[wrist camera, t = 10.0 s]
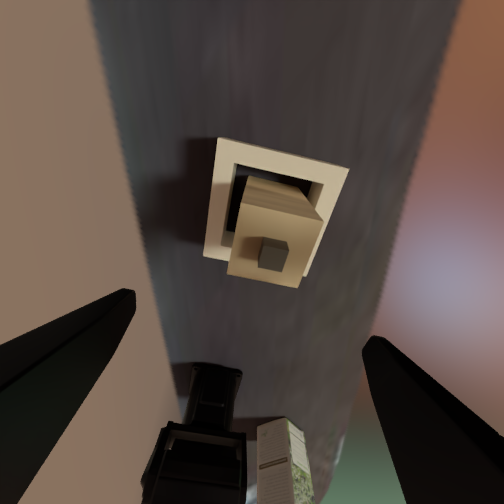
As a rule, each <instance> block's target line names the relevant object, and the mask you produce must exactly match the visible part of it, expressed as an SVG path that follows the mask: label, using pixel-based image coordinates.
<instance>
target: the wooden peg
mask: <svg viewBox="0 0 504 504" xmlns="http://www.w3.org/2000/svg"><path fill="white" fill-rule="evenodd" d="M323 223H324V221H323V219H322V218H321V217H320V216H319V214H318V213H317V212H316V210H315V209H314V208H313V206H312V205H311V204H310V202H309V201H308V200H307V199H306V197H305V196H304V195H303V193H302V192H301V191H300V189H299V188H298V187H295V186H291V185H287V184H283V183H279V182H274V181H270V180H266V179H262V178H258V177H253V176H248V180H247V183H246V187H245V190H244V194H243V197H242V201H241V205H240V210H239V215H238V220H237V225H236V230H235V235H234V240H233V245H232V250H231V255H230V260H229V265H228V270H227V274H230V275H235V276H240V277H244V278H249V279H254V280H259V281H264V282H269V283H274V284H279V285H284V286H289V287H294V288H298V286H299V283H300V281H301V278H302V276H303V273H304V271H305V268H306V266H307V263H308V261H309V258H310V256H311V253H312V251H313V248H314V246H315V243H316V241H317V238H318V236H319V233H320V231H321V228H322V226H323Z"/></svg>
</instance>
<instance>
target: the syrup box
mask: <svg viewBox="0 0 504 504" xmlns="http://www.w3.org/2000/svg"><path fill="white" fill-rule="evenodd" d="M257 504H315V500H314V493H313V487H312V481H311V474H310V468H309V462H308V455H307V450H306V443H305V437H304V432H303V431H302V430H300V429H299V428H298V427H297V426H295V425H294V424H293V423H292V422H291V421H289V420H288V419H287V418H281V419H277V420H274V421H271V422H268V423H265V424H262V425H260V426H257Z"/></svg>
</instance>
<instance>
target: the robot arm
mask: <svg viewBox="0 0 504 504" xmlns="http://www.w3.org/2000/svg"><path fill="white" fill-rule="evenodd" d="M135 311H136V293H135V291H134V290H130V289H125V288H122V289H120V290H117V291H115V292H113V293H111V294H109V295H107V296H105V297H102V298H100V299H98V300H96V301H94V302H92V303H90V304H88V305H85V306H83V307H81V308H79V309H77V310H74V311H72V312H70V313H68V314H66V315H64V316H62V317H59V318H57V319H55V320H53V321H51V322H49V323H47V324H44V325H42V326H40V327H38V328H36V329H34V330H31V331H29V332H27V333H25V334H23V335H21V336H19V337H16V338H14V339H12V340H10V341H8V342H6V343H4V344H1V345H0V504H17V503H18V502H19V500H20V498H21V497H22V496H23V494H24V492H25V491H26V489H27V488H28V486H29V485H30V483H31V482H32V480H33V479H34V477H35V475H36V474H37V472H38V471H39V469H40V468H41V466H42V465H43V463H44V462H45V460H46V458H47V457H48V455H49V454H50V452H51V451H52V449H53V448H54V446H55V444H56V443H57V441H58V440H59V438H60V437H61V435H62V434H63V432H64V431H65V429H66V428H67V426H68V425H69V423H70V421H71V420H72V418H73V417H74V415H75V414H76V412H77V411H78V409H79V408H80V406H81V404H82V403H83V401H84V400H85V398H86V397H87V395H88V394H89V392H90V391H91V389H92V387H93V386H94V384H95V383H96V381H97V380H98V378H99V377H100V375H101V373H102V372H103V370H104V369H105V367H106V366H107V364H108V363H109V361H110V359H111V358H112V356H113V355H114V353H115V351H116V349H117V347H118V345H119V343H120V341H121V339H122V338H123V336H124V334H125V332H126V330H127V328H128V326H129V324H130V322H131V320H132V318H133V316H134V314H135ZM362 357H363V362H364V366H365V370H366V375H367V379H368V383H369V388H370V392H371V396H372V399H373V402H374V406H375V409H376V412H377V415H378V418H379V421H380V424H381V427H382V430H383V433H384V436H385V439H386V442H387V445H388V448H389V452H390V455H391V458H392V461H393V464H394V467H395V470H396V473H397V476H398V479H399V482H400V485H401V488H402V491H403V494H404V497H405V501H406V504H504V437H503V436H501V435H499V434H498V432H496V431H495V430H494V429H493V428H492V427H491V426H489V425H488V424H487V423H486V422H485V421H484V420H482V419H481V418H480V417H479V416H478V415H476V414H475V413H474V412H473V411H472V410H470V409H469V408H468V407H467V406H466V405H464V404H463V403H462V402H461V401H460V400H458V399H457V398H456V397H455V396H454V395H452V394H451V393H450V392H449V391H448V390H446V389H445V388H444V387H443V386H442V385H440V384H439V383H438V382H437V381H436V380H435V379H433V378H432V377H431V376H430V375H429V374H427V373H426V372H425V371H424V370H422V369H421V368H420V367H419V366H418V365H416V364H415V363H414V362H413V361H412V360H411V359H409V358H408V357H407V356H406V355H405V354H403V353H402V352H401V351H400V350H399V349H398V348H396V347H395V346H394V345H393V344H392V343H390V342H389V341H388V340H387V339H386V338H384V337H380V336H375V335H373V336H371V337H370V339H369V340H368V341H367V343H366V344H365V346H364V347H363V349H362ZM242 375H243V373H242V371H239V370H233V369H227V368H221V367H214V366H208V365H202V364H193V367H192V372H191V380H190V387H189V394H190V396H189V399H188V403H187V407H186V410H185V414H184V418H183V421H182V424H179V423H173V421H168V424H167V426H166V427H164V428H161V431H160V434H159V437H158V440H157V443H156V445H155V448H154V451H153V453H152V455H151V457H150V459H149V462H148V464H147V466H146V469H145V471H144V473H143V475H142V478H141V485H142V488H143V493H142V497H143V500H142V503H141V504H245V503H246V493H247V448H246V433H244V432H241V433H237V432H232V421H233V411H234V401H235V398H236V395H237V392H238V389H239V386H240V382H241V379H242ZM169 448H171V450H170V449H169Z"/></svg>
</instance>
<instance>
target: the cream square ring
mask: <svg viewBox="0 0 504 504" xmlns="http://www.w3.org/2000/svg"><path fill="white" fill-rule="evenodd" d="M237 164H241V165H245V166H249V167H254V168H258V169H262V170H267V171H271V172H275V173H279V174H284V175H288V176H292V177H297V178H301V179H305V180H309V181H313V182H312V184H311V187H310V190H309V193H308V196H307V200H308V201H309V202H310V204H311V205H312V206H313V208H314V209H315V210H316V212H317V213H318V214H319V216H320V217H321V218H322V219H323V221H324V223H323V226H322V228H321V231H320V233H319V236H318V238H317V241H316V243H315V246H314V248H313V251H312V253H311V256H310V258H309V261H308V263H307V266H306V268H305V271H304V273H303V276H305V277H306V276H307V273H308V271H309V268H310V266H311V263H312V261H313V258H314V256H315V253H316V251H317V248H318V246H319V243H320V241H321V238H322V236H323V233H324V231H325V228H326V226H327V223H328V221H329V218H330V216H331V213H332V211H333V208H334V206H335V203H336V201H337V198H338V196H339V194H340V191H341V189H342V186H343V184H344V181H345V179H346V176H347V174H348V171H349V169H348V168H345V167H342V166H339V165H337V164H333V163H329V162H325V161H321V160H317V159H312V158H308V157H304V156H300V155H296V154H292V153H288V152H283V151H279V150H275V149H271V148H267V147H263V146H259V145H254V144H250V143H246V142H242V141H238V140H234V139H229V138H225V137H218V140H217V148H216V156H215V164H214V172H213V180H212V188H211V197H210V205H209V213H208V221H207V229H206V237H205V245H204V253H203V256H206V257H211V258H215V259H220V260H225V261H229V260H230V255H231V250H232V245H233V240H234V235H235V233H234V232H230V231H226V227H227V221H228V215H229V209H230V204H231V198H232V192H233V186H234V180H235V174H236V168H237Z"/></svg>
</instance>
